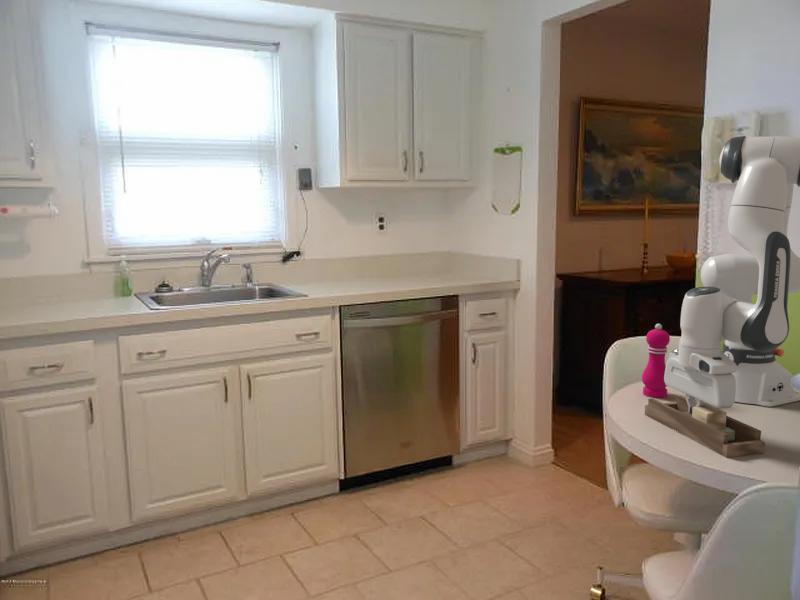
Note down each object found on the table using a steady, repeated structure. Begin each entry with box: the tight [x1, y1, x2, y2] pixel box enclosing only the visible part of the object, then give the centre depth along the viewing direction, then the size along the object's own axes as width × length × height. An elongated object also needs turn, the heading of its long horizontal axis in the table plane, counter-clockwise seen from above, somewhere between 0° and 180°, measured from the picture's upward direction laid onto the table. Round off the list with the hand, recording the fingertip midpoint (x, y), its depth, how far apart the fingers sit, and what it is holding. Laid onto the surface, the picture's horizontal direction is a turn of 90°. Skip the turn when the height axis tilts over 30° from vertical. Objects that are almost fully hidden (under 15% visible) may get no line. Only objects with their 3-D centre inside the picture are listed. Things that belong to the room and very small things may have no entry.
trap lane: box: [644, 395, 766, 458], centre depth 151 cm, size 9×28×4 cm, turn 14°
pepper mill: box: [641, 323, 671, 399], centre depth 179 cm, size 7×7×20 cm
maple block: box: [692, 404, 728, 430], centre depth 148 cm, size 5×5×4 cm
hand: (695, 415), depth 152 cm, fingers closed
